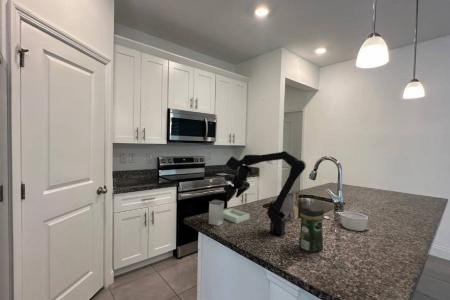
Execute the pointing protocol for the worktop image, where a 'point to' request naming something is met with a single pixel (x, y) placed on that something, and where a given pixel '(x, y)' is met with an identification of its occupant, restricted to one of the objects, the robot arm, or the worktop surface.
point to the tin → (216, 212)
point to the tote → (235, 215)
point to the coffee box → (291, 206)
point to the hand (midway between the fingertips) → (232, 199)
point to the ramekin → (354, 221)
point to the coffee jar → (311, 228)
